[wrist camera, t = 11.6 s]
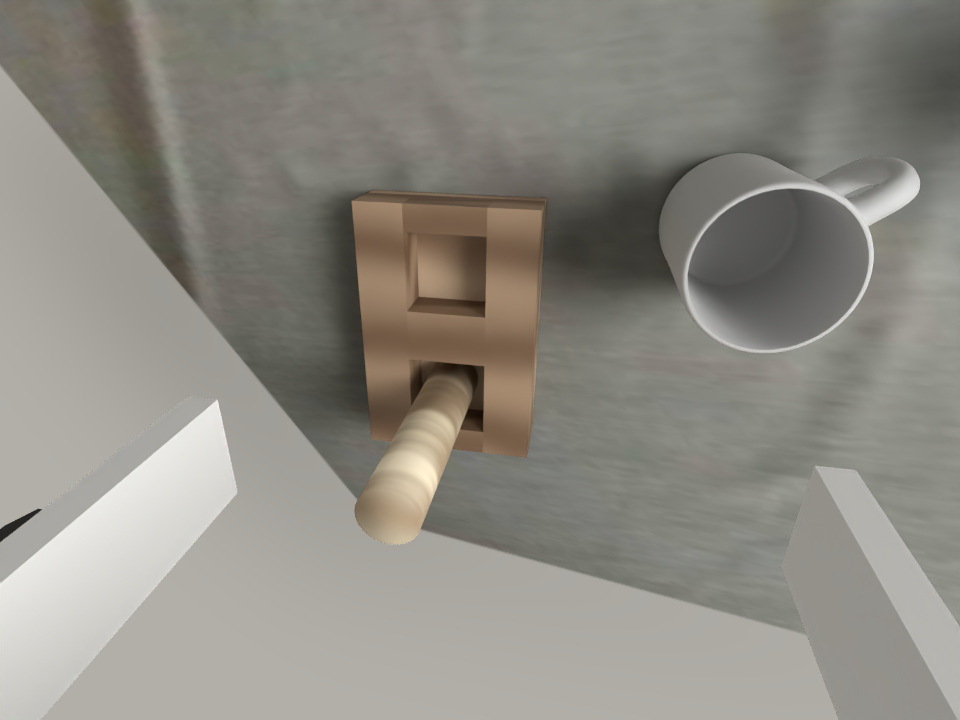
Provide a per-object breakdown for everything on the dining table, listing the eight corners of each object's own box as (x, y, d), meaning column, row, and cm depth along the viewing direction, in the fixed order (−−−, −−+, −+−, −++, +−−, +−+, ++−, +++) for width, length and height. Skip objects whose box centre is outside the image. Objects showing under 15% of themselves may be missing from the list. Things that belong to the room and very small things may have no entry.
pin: (431, 353, 44) (351, 485, 29) (478, 358, 43) (420, 494, 29) (432, 395, 45) (357, 539, 31) (477, 399, 45) (422, 549, 30)
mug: (694, 308, 40) (726, 383, 30) (634, 201, 37) (647, 244, 28) (882, 214, 35) (992, 266, 25) (827, 85, 33) (925, 88, 23)
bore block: (373, 189, 40) (351, 200, 36) (546, 198, 38) (541, 210, 35) (388, 412, 48) (371, 439, 44) (532, 428, 46) (526, 457, 42)
